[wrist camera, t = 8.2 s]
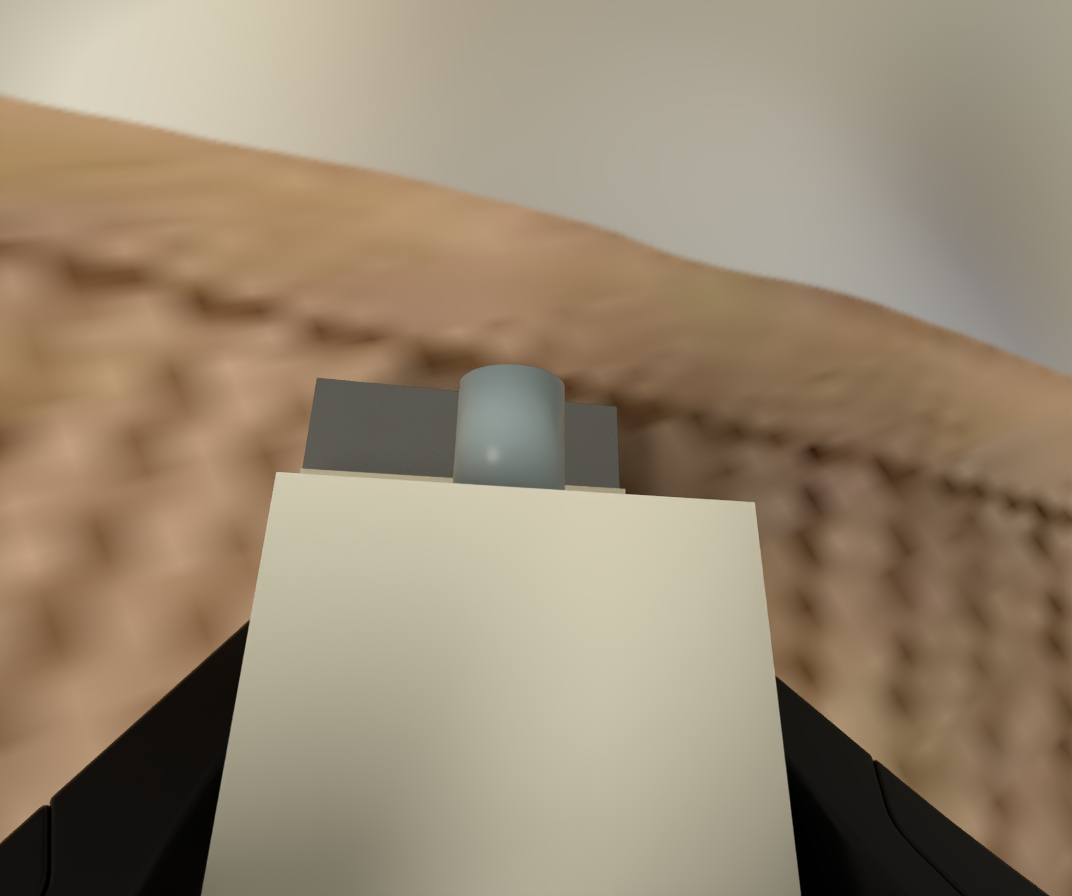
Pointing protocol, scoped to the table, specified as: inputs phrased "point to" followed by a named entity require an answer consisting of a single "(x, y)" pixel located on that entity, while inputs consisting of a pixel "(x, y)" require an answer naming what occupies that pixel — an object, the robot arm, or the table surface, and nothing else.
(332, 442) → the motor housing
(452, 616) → the cream block
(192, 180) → the table surface
